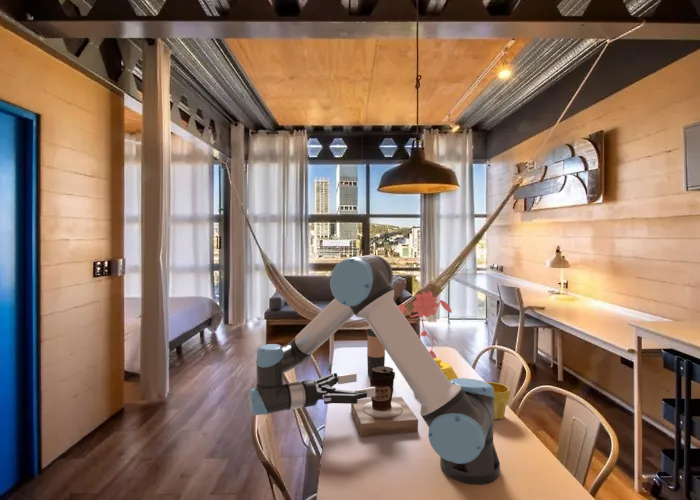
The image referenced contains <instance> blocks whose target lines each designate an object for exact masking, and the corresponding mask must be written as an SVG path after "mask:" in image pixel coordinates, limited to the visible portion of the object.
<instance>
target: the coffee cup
mask: <svg viewBox="0 0 700 500" xmlns="http://www.w3.org/2000/svg"><path fill="white" fill-rule="evenodd" d="M395 378H396V373H395V371H394V367H393V368H392V367H390V366H385V365H384V366H381V367H375V368H372V371H371V372H370V376H369V380H370V382H369V383H370V387H375V396H374V397H370V399H372V408H373V409H375V410H378V411H388V410H391V408H392V406H391V400H392V397H393V393H394V381H395Z"/></svg>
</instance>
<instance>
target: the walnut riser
mask: <svg viewBox="0 0 700 500" xmlns="http://www.w3.org/2000/svg"><path fill="white" fill-rule="evenodd" d="M391 406H392V408H391V410H388V411H378V410H375V409H373V408H372V399H371V398H363V399H357V404H350V412H351V416H352V417H353V420H354V422H355V424H356V427H357V429H358V432H359V434H360V437H361V438H362V437H373V436H374V437H375V436H383V435H385V436H386V435H395V434H408V433H418V432H419V419H418V417H417V416H416V414H415V413H414V412H413V411H412V409H411V408H410V406H409V405H408V403H407V402H406V401H405V399H404V398H403V397H402V396H392V400H391Z"/></svg>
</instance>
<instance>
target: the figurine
mask: <svg viewBox="0 0 700 500" xmlns="http://www.w3.org/2000/svg"><path fill="white" fill-rule="evenodd" d="M414 297H415V299H416V300H414V301H413V302H412V305H413V306H414V307H413V309H412V311H413V313H418V314H414V315H411V314H410V312H409V311H408V310H407V308H406V307H405V305H404V304H403V303H401V304H399V305H397V306H398V308H399V309H400V310H401V312H402V313H403V314H404V313H405V311H406V313H407V315H409V317H410V318H414V317H417V316H418V317H419V318H421V324H422V327H423V328H422V329H423V330H422V331H421V333H420V334H419V335H418V337H419V338H420V337H421V336H422V337H427V336H428V337H430V338H431V348H433V347H434V346H433V344H434V343H433V341H434V337H433V336H432V335H429V334H428V332H427V331H426V330H425V325H424V317H425V318H430V316H435V314H436V313H437V311H438V308H439V306H440V305H441V306H442V308H443V309H444V310H445V311H447V312H449V313H451V314H452V308H451V307H450V305H449V304H448V303H447V302H446V301H445V300H442V299H440V300H439V302H437V300H438V297H437V296H433V292H432V291H428V292H425V291H422V292H421V293H420V294H419V293H417V294H415V296H414ZM429 353H430V354H431V355H432V357H433V358H437V355H436V353H435V351H433V350H429Z"/></svg>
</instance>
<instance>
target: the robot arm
mask: <svg viewBox="0 0 700 500" xmlns="http://www.w3.org/2000/svg"><path fill="white" fill-rule="evenodd" d="M393 280H394V271H393V269H392V266H391V265H390V263H389V262H388V261H387V260H386V259H385V258H383V256H382V257H381V256H379V255H376V254H369V255H363V256H361V255H360V256H356V255H355V256H354V255H353V256H350V257H347V258H345V259H343V260H341V261H339V262H338V263H337V264H335V266H334V268H333V269H332V271H331V274H330V280H329V286H330V287H329V288H330V290H331V294H332V296H333V297H334V298H333V299H332V300H331V301H330V302H328V304H327V305H326V306H325V307H324V308H323V309H321V311H320V312H318V314H317V315H316V316H315V317H314V318H313V319H312V320H311V321H310V322H309V323H307V325H306V326H305V327H304V328H302V329H301V331H299V333H297V334H296V335H295V336H294V337H293V338H292V339H291V340H290V342H288V343H287V344H285V345H283V346H282V345H280V344H277V343H267V344H263V345H260V346H259V347H258V348H257V349H256V361H255V363H256V385H255V386H256V387H254V388H251V389H250V390H249V392H248V407H249V411H250V413H251V415H253V414H254V415H253V416H263V415H270V414H275V413H279V412H285V411H291V412H292V411H293V412H294V411H295V410H296V409H302V408H303V407H304V408H308V407H309V408H310V407H314V406H316V405H317V403H318V401H319V400H322V401H323V404H324V405H327V404H347V405H348V404H350V405H351V404H357V400H358V399H370V398H371V397H374V396H375V387H371V386H369V387H365V388H359V389H355V390H354V391H353V390H345V389H338V388H336V387H334V386H335V385H337V384H338V385H344V384H345V385H346V384H350V383H356V382H357V372H354V373H348V374H341V375H340V374H339V375H338V373H337V372H335V373H334V372H333V373H329V374H327V375H324V376H322V377H319V378H317V379H308V380H303V381H301V382H300V381H295V382H289V383H287V382H286V383H284V374H285V373H287V372H289V371H291V370H293V369H294V368H295V369H296V368H297V367H298V366H301V365H304V364H305V363H307V362H308V361H309V360H310V359H311V357H312V355H313V354H314V352H316V351H317V350H318V349H319V348H320V347H321V346H322V345H324V343H326V341H327V340H329V339H330V338H331V337H332V336H333V335H334V334H335V333H337V331H339V330H340V329H341V328H342V327H343V326H344V325H345V324H346V323H347V322H348V321H349V320H350V319H351V318H352V317H353V316H355V317H356V318H359V319H363V320H365V321H366V323H367V324H368V325H369V327H370V329H372V330H373V332H374V333H375V335H376V336H377V338H378V339H379V341H380V342H381V344H382V345H383V347H384V348H385V352H386V353H387V354H388V356H389V358H391V361H392V362H393V364H394V365H395V366H396V368H397V369H398V371H399V373H400V374H401V376H402V377H403V378H404V380H405V381H406V383H407V385H408V386H409V387H410V389H411V391H412V392H413V394H414V395H415V396H416V399H417V400H418V401H419V403H420V404H421V405H420V412H419V414H420V416H421V417H422V419H423V421H424V422H425V423H426V425H427V427H428V439H429V440H428V441H429V444H430V445H431V447H432V449H433V450H434V452H435V453H436V454H437V455H438V456H439V457H440V459H439V461H440V463H439V465H440V468H441V470H442V471H443V472H444V474H446V475H447V476H449V477H450V478H451V479H453V480H455V481H458V482H461V483H464V484H469V485H487V484H490V483H493V482H495V481H496V480H498V479H499V477H500V475H501V464H500V459H499V456H498V453H497V450H496V447H495V443H494V423H495V422H494V398H495V396H494V389H493V387H492V386H491V385H490V384H489V383H486V381H483V380H480V379H474V378H464V377H463V378H461V377H460V378H459V377H458V378H457V379H452V380H450V381H449V380H448V379H447V377H446V376H445V374H444V373H443V371H442V370H441V368H440V367H439V366H438V364H437V363H436V361H435V360H434V358H433V357H432V355H431V354H430V353H429V352H430V350H429V349H428V348H427V346H426V345H425V343H423V340H422V339H421V338H420V336H419V335H418V334H417V332H416V331H415V329H414V328H413V327H412V325H411V323H410V322H409V321H408V319H407V318H406V316H405V315H404V313H402V312H401V310H400V309H399V308H398V306H399V305H397V303H396V302H395V299H394V298H395V290H394V288H393V287H392V284H393ZM418 336H419V337H418Z"/></svg>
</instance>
